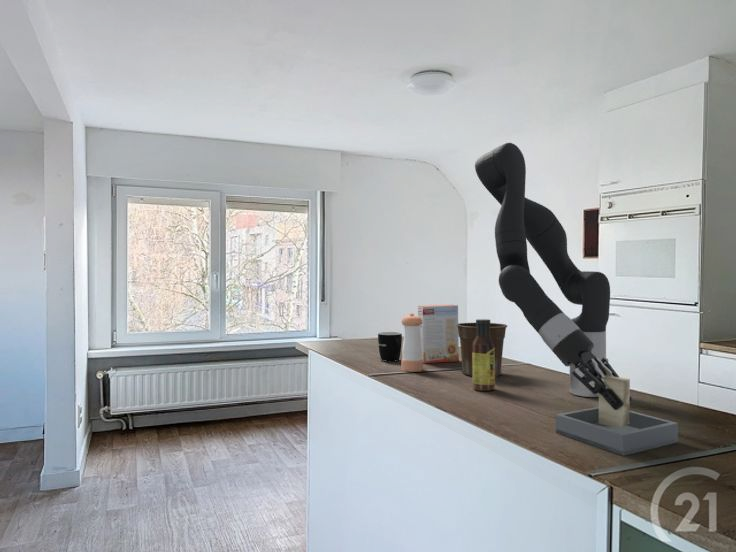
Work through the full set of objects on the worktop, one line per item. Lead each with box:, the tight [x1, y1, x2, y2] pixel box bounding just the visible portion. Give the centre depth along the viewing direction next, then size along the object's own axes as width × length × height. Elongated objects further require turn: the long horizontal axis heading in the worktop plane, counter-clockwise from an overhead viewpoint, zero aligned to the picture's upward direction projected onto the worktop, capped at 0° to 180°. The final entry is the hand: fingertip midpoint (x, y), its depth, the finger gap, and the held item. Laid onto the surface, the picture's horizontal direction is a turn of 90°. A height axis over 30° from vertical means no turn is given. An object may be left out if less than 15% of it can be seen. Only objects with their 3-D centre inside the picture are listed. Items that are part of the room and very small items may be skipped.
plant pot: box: [456, 322, 508, 377], centre depth 176 cm, size 16×16×16 cm
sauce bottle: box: [472, 318, 496, 392], centre depth 153 cm, size 7×6×20 cm
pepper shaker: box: [400, 313, 424, 373], centre depth 183 cm, size 7×7×19 cm
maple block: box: [598, 376, 631, 428], centre depth 109 cm, size 4×4×9 cm
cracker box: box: [417, 303, 460, 364], centre depth 199 cm, size 14×6×21 cm, turn 105°
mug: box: [377, 331, 403, 362], centre depth 202 cm, size 12×9×10 cm
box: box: [555, 406, 679, 457], centre depth 109 cm, size 16×16×4 cm
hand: (624, 404), depth 108 cm, fingers closed on maple block, 4 cm apart
